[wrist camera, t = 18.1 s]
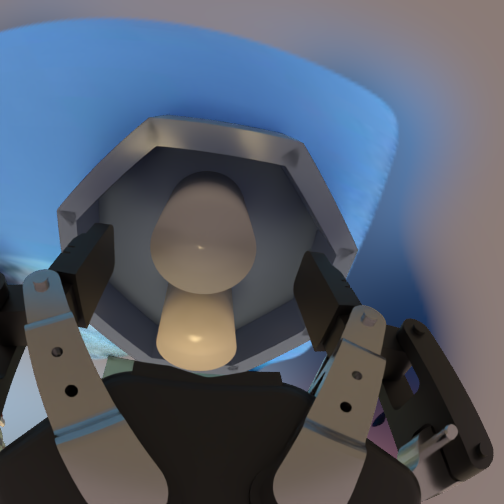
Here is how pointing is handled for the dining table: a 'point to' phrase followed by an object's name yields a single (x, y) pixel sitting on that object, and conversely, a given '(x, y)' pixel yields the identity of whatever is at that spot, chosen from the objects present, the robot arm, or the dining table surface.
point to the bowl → (261, 217)
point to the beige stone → (197, 329)
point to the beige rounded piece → (204, 235)
